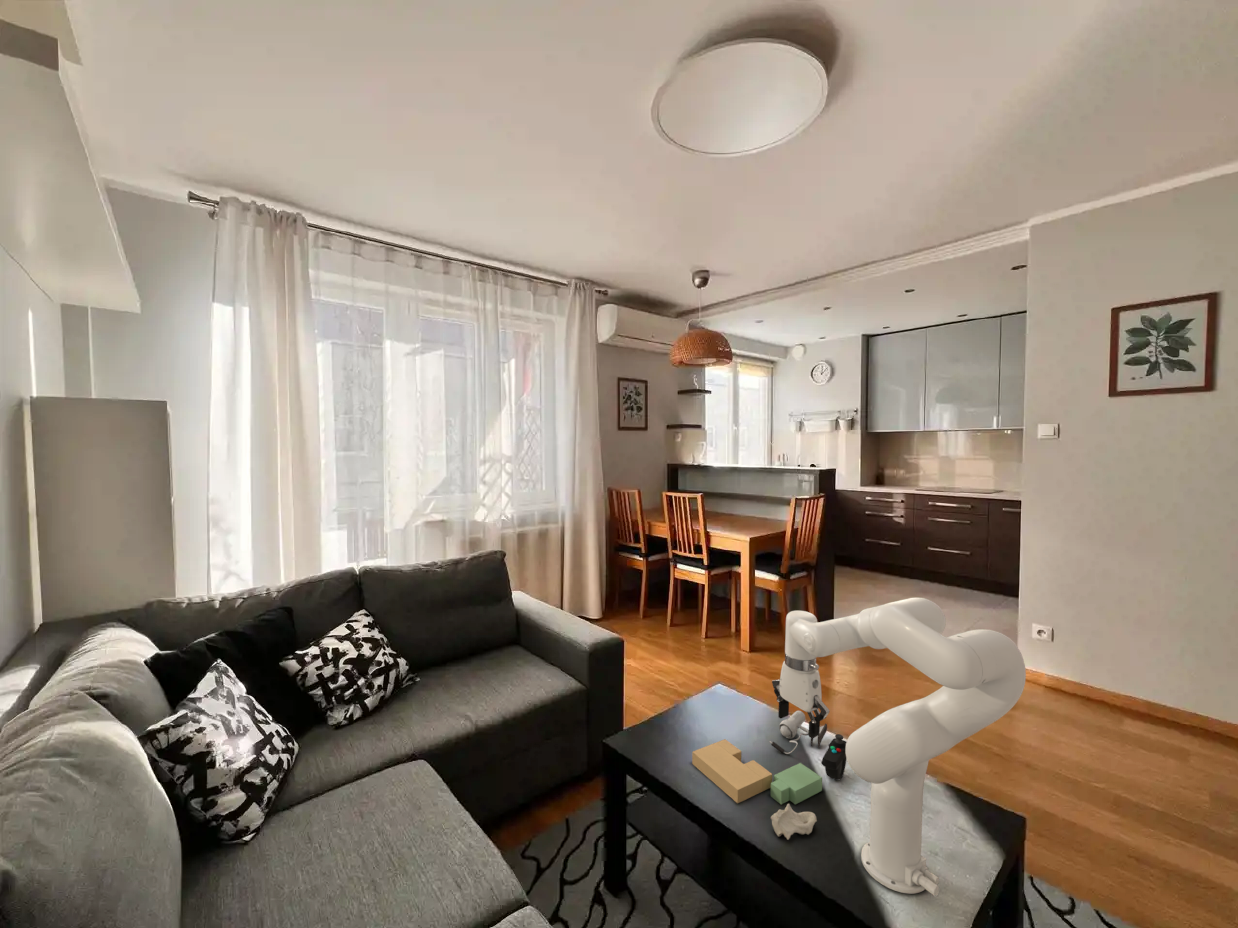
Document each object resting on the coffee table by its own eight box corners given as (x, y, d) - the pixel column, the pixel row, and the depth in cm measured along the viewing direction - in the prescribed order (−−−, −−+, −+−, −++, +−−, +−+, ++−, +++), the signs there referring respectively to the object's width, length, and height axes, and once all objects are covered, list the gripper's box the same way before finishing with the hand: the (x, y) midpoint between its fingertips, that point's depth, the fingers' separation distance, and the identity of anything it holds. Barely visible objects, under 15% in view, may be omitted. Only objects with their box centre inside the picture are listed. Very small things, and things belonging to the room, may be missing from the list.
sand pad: (772, 786, 134) (772, 773, 133) (737, 803, 127) (737, 789, 127) (724, 750, 149) (725, 738, 149) (692, 763, 143) (692, 751, 143)
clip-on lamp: (799, 772, 143) (830, 735, 155) (799, 754, 142) (830, 718, 153) (762, 750, 152) (795, 716, 163) (762, 732, 150) (794, 699, 162)
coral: (820, 831, 118) (821, 812, 118) (785, 846, 114) (786, 827, 114) (802, 814, 124) (802, 797, 123) (768, 828, 119) (768, 810, 119)
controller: (849, 769, 140) (850, 734, 140) (836, 794, 131) (837, 756, 130) (833, 763, 143) (834, 728, 143) (819, 787, 133) (819, 749, 133)
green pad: (822, 790, 132) (822, 777, 132) (786, 809, 126) (786, 795, 125) (800, 775, 138) (800, 762, 138) (765, 791, 132) (765, 778, 131)
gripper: (839, 671, 125) (837, 739, 126) (784, 645, 140) (782, 706, 141) (818, 679, 121) (816, 748, 122) (764, 651, 136) (762, 713, 137)
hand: (798, 725), depth 132 cm, fingers open, 9 cm apart
